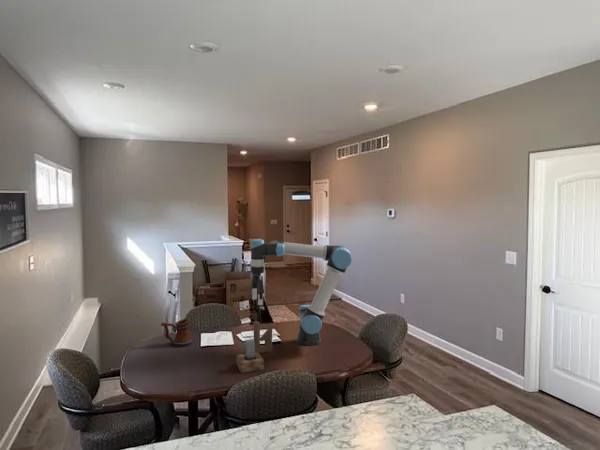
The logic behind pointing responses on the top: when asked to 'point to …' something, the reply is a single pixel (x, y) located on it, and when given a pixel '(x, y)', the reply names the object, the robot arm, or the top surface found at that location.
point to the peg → (249, 349)
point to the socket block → (250, 363)
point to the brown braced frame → (262, 339)
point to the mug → (179, 333)
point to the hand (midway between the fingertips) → (257, 302)
